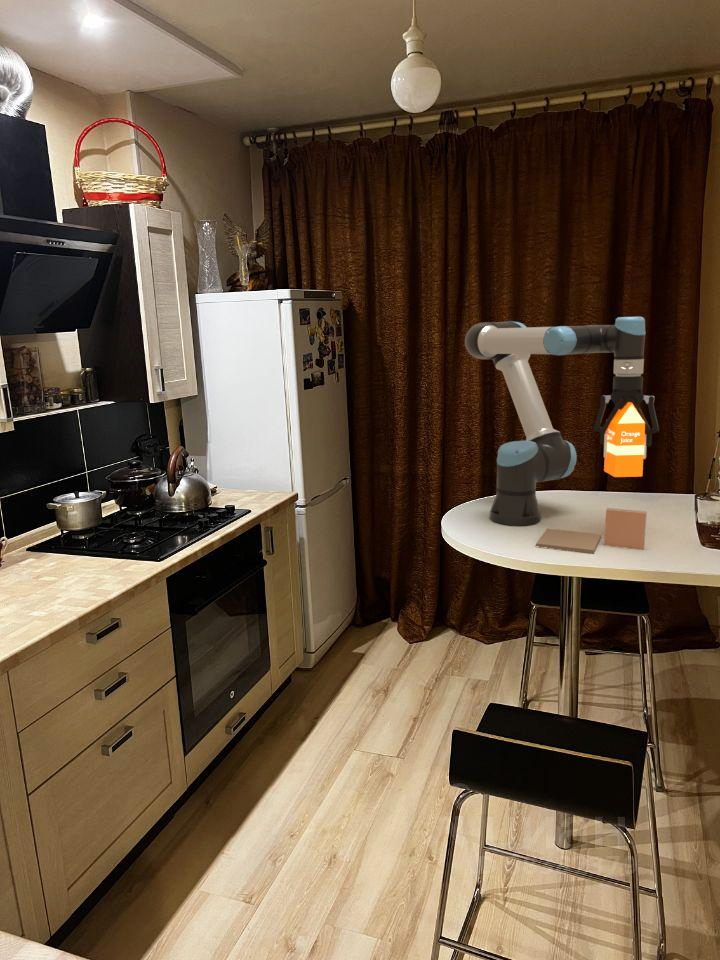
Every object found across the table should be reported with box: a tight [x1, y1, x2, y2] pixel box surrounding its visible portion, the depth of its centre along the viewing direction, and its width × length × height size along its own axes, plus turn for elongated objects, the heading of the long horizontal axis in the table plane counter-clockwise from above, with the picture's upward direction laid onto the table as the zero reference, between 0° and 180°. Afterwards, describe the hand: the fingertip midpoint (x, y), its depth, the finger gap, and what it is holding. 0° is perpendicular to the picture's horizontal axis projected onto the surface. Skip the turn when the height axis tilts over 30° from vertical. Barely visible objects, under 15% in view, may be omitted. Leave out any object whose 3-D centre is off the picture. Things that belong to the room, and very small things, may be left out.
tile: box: [603, 507, 648, 551], centre depth 194 cm, size 10×2×10 cm, turn 65°
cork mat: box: [535, 528, 603, 555], centre depth 200 cm, size 15×15×1 cm
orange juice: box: [603, 402, 646, 478], centre depth 200 cm, size 8×9×20 cm
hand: (624, 457), depth 201 cm, fingers closed on orange juice, 9 cm apart
